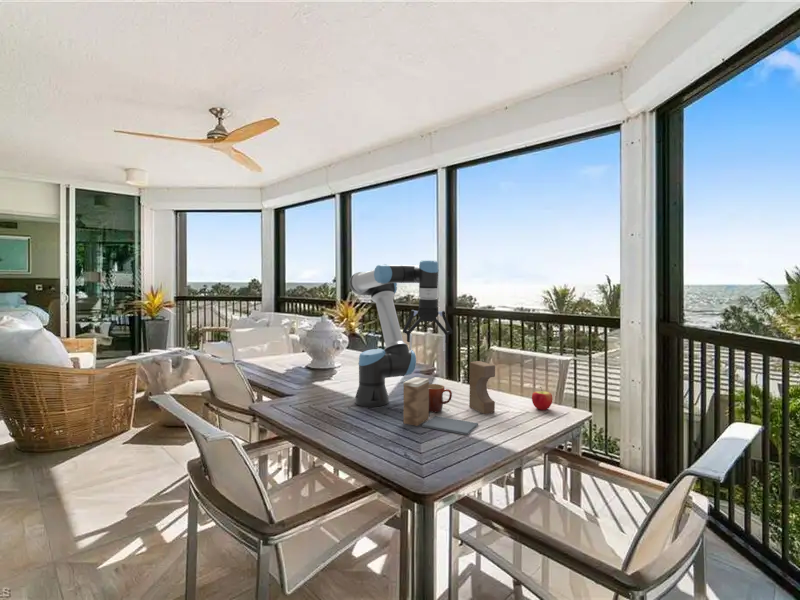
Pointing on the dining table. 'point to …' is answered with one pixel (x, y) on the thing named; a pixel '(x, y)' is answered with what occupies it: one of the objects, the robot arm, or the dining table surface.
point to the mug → (437, 397)
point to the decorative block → (481, 387)
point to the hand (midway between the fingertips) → (427, 350)
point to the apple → (542, 399)
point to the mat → (450, 425)
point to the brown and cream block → (416, 401)
